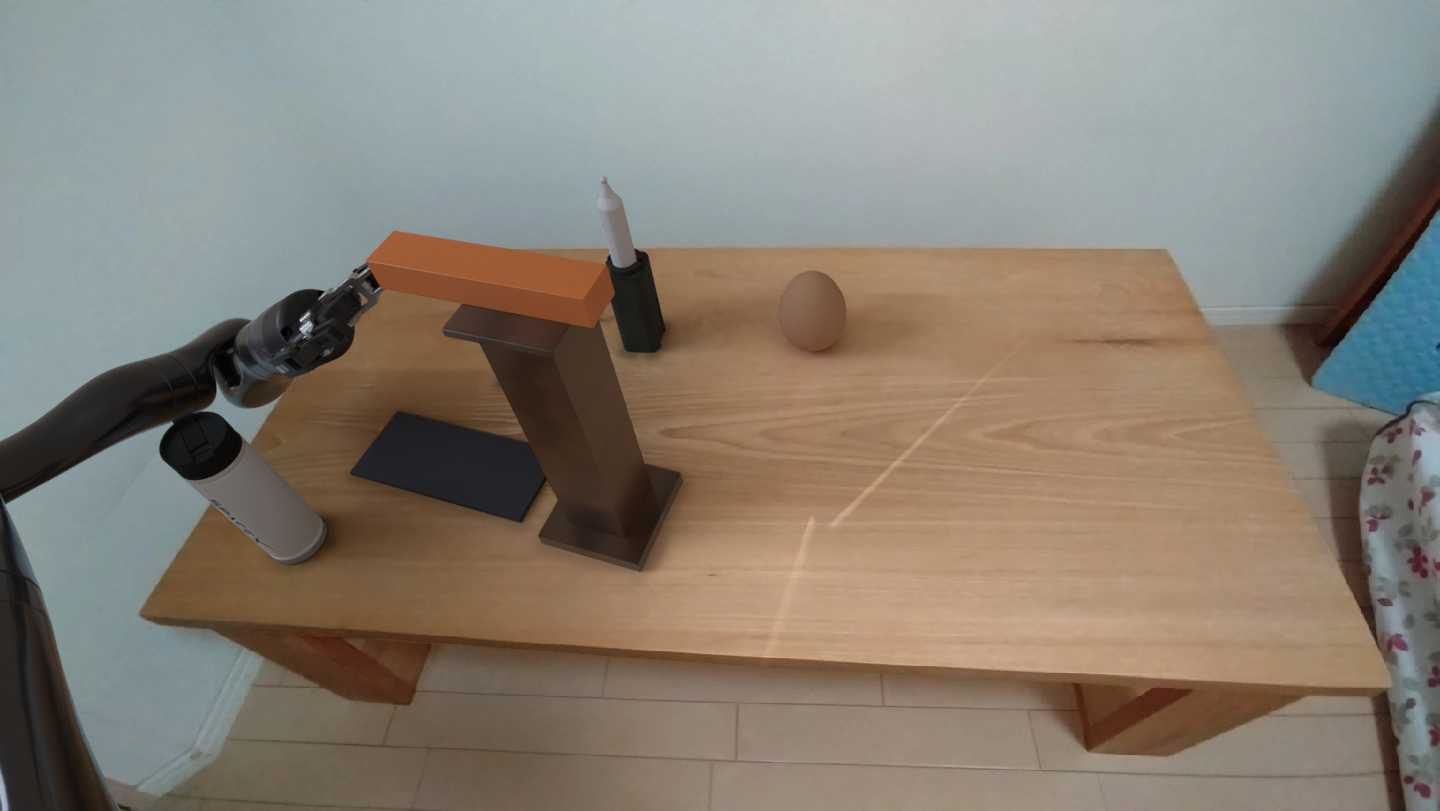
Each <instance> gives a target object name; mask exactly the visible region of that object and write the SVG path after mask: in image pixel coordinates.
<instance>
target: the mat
mask: <svg viewBox="0 0 1440 811" xmlns="http://www.w3.org/2000/svg"><path fill="white" fill-rule="evenodd" d="M349 474H350V475H351V476H354V477H358V478H361V479H365V480H369V481H371V482H375V483H379V484H382V485H386V486H389V487H393V488H396V489H399V490H403V491H406V492H410V493H414V494H418V495H421V496H425V497H427V498H432V499H435V500H439V501H442V502H445V503H449V504H453V505H456V506H458V507H459V506H460V507H462V508H466V509H470V510H473V511H477V512H481V513H483V514H484V513H485V514H488V515H491V516H494V517H498V518H501V519H506V520H509V521H513V522H516V523H519V524H521V523H522V521H523V520H524V518H525V516H526V515H527V513H528V511H529V510H530V508H531V506H533V503H534V501H535V499H536V498H537V496H538V494H539V493H540V491H541V490H542V488H543V486H544V484H545V483H546V481H547V478H546V476H545V474H544V472H543V470H542V468H541V466H540V464H539V462H538V460H537V458H536V456H535V454H534V452H533V450H532V448H531V446H530V444H529V442H528V441H523V440H518V439H514V438H510V437H506V436H503V435H499V434H495V433H490V432H487V431H482V430H478V429H474V428H471V427H465V426H462V425H458V424H454V423H450V422H446V421H443V420H438V419H433V418H429V417H426V416H421V415H418V414H413V413H410V412H405V411H401V410H397V411H395V413H394V415H393V416H392V417H391V418H390V419H389V421H388V422H387V423H386V424H385V426H384V427H383V429H382V430H381V431H380V432H379V434H378V435H377V436H376V437H375V439H374V440H373V441H372V443H371V444H370V445H369V447H368V448H367V449H366V450H365V451H364V453H363V454H362V455H361V457H360V458H359V459H358V461H357V462H356V463H355V464H354V466H353V467H352V468H351V470H349Z"/></svg>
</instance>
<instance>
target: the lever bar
mask: <svg viewBox="0 0 1440 811" xmlns="http://www.w3.org/2000/svg"><path fill="white" fill-rule="evenodd" d="M364 262H365V263H367V265H368V267H369V268H370V270H371V272H372V273H373V275H374V277H375V278H376V280H377V282H378V283H379V285H380V287H381V288H382V289H385V290H386V291H387V290H388V291H392V292H393V291H394V292H398V293H402V294H403V293H404V294H409V295H414V296H419V297H423V298H430V299H435V300H441V301H446V302H451V303H455V304H456V303H457V304H460V305H461V304H466V305H472V306H477V307H482V308H488V309H493V310H498V311H503V312H509V313H514V314H519V315H525V316H530V317H535V318H540V319H546V320H551V321H556V322H562V323H567V324H572V325H578V326H583V327H588V328H594V326H595V324H596V323H597V321H598V320H599V321H600V319H601V317H602V315H603V314H604V312H605V310H606V309H607V307H608V306H609V304H611V299H612V298H613V296H614V295H615V292H614V288H613V285H612V281H611V278H610V274H609V271H608V268H607V265H606V263H599V262H594V261H588V260H583V259H582V260H581V259H576V258H575V259H574V258H570V257H569V258H568V257H562V256H556V255H551V254H544V253H537V252H531V251H525V250H519V249H512V248H505V247H501V246H500V247H499V246H494V245H487V244H480V243H475V242H468V241H463V240H462V241H461V240H455V239H449V238H444V237H437V236H431V235H424V234H418V233H414V232H413V233H412V232H406V231H399V230H393V231H392V232H391V233H389V235H388V236H387V237H386V238H385V239H384V240H383V241H382V242H381V243H380V244H379V245H378V246H377V248H376V249H375V250H374V251H372V252H371V254H370V255H369V256H368V257H367V258H365V261H364Z"/></svg>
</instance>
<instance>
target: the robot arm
mask: <svg viewBox="0 0 1440 811" xmlns="http://www.w3.org/2000/svg"><path fill="white" fill-rule="evenodd" d="M384 291H386V289H382V288H381V287H380V285H379V283H378V282H377V280H376V278H375V277H374V275H373V273H372V272H371V270H370V268H369V267H368V265H367V263H366V262H365V263H363V264H361V265H360V266H358V267H357V268H356V267H355V268H354V269H353V270H352V272H351V273H350V274H349V275H348V276H346V277H345V278H344V279H342V281H341V282H339V283H338V284H337V285H336V286H334V287H330V288H328V289H326V290H322V289H317V288H303V289H299V290H296V291H294V292H292V293H290V294H288V295H287V296H285V297H284V298H282V299H280V300H279V301H277V302H276V303H274V304H272V305H271V306H269V307H267V308H266V309H265V310H263V311H262V312H261V313H260V314H259V315H258V316H257V317H256V318H254V319H253V320H252V319H249V318H246V317H232V318H228V319H225V320H222V321H219V322H217V323H216V324H214V325H212V326H210V327H209V328H208V329H206V330H205V331H203V332H202V333H200V334H199V335H198V336H196V337H195V338H193V339H191V340H190V341H189V342H187V343H185V344H183V345H181V346H180V347H178V348H175V349H173V350H170V351H167V352H164V353H160V354H158V355H154V356H151V357H147V358H146V357H145V358H143V359H140V360H135V361H132V362H131V361H130V362H129V363H125V364H121V365H119V366H116V367H113V368H111V369H107V370H106V371H104V372H102V373H100V374H98V375H96V376H95V377H93V378H92V379H89V380H88V381H87V382H86V383H84V384H82V385H81V386H79V387H78V388H76V390H74V391H73V392H71V393H70V394H69V395H68V396H67V397H65V398H64V399H62V400H61V401H60V402H59V403H57V404H56V405H55V406H53V408H51V409H50V410H49V411H47V412H46V413H45V414H43V415H41V416H40V417H39V418H37V419H36V420H34V421H33V422H32V423H30V424H28V425H27V426H25V427H23V428H22V429H20V430H19V431H17V432H15V433H13V434H11V435H10V436H8V437H6V438H4V439H1V440H0V811H121V809H120V807H119V804H118V802H117V800H116V798H115V796H114V794H113V792H112V789H111V788H110V785H109V783H108V781H107V779H106V776H105V775H104V773H103V770H102V768H101V766H100V765H99V762H98V760H97V758H96V756H95V753H94V751H93V749H92V746H91V744H90V742H89V740H88V737H87V735H86V732H85V730H84V727H83V724H82V722H81V720H80V717H79V714H78V710H77V709H76V705H75V702H74V699H73V695H72V692H71V690H70V686H69V682H68V679H67V676H66V673H65V670H64V667H63V662H62V659H61V656H60V652H59V647H58V643H57V639H56V635H55V631H54V627H53V623H52V620H51V617H50V614H49V611H48V607H47V604H46V601H45V597H44V595H43V592H42V589H41V586H40V583H39V581H38V579H37V576H36V574H35V572H34V568H33V566H32V564H31V561H30V559H29V556H28V553H27V551H26V549H25V546H24V544H23V541H22V539H21V535H20V533H19V531H18V530H17V527H16V525H15V522H14V521H13V518H12V516H11V514H10V511H9V509H8V508H7V506H6V505H8V504H10V503H11V502H13V501H15V500H18V498H21V497H22V496H24V495H25V494H27V493H30V492H31V491H33V490H35V489H37V488H39V487H40V486H42V485H45V484H46V483H48V482H50V481H51V480H53V479H55V478H57V477H59V476H60V475H63V474H65V473H66V472H68V471H70V470H71V469H73V468H75V467H77V466H78V465H81V464H82V463H84V462H86V461H88V460H89V459H91V458H93V457H95V456H97V455H99V454H101V453H103V452H105V451H106V450H109V449H110V448H112V447H114V446H116V445H118V444H120V443H122V442H125V441H127V440H129V439H131V438H134V437H136V436H139V435H142V434H144V433H146V432H149V431H152V430H154V429H157V428H160V427H163V426H166V425H169V424H171V423H173V422H172V420H173V419H174V418H176V417H178V416H180V415H182V414H184V413H185V412H187V411H191V412H192V413H196V412H202V411H205V410H207V409H208V408H210V407H211V406H212V405H213V403H214V402H215V400H216V398H217V393H218V392H217V391H218V389H219V392H220V393H221V395H222V396H223V398H224V399H225V401H226V402H228V404H230V405H231V406H234V407H236V408H239V409H242V410H253V409H257V408H262V407H264V406H267V405H269V404H271V403H273V402H274V401H276V400H278V398H280V397H281V396H282V395H284V394H285V392H286V391H288V389H289V388H290V386H291V385H292V383H293V382H294V379H295V378H296V377H300V376H302V375H306V374H308V373H310V372H312V371H315V369H317V368H319V367H321V366H324V365H326V364H329V363H330V362H331V363H332V362H333V361H336V360H337V359H340V358H341V357H343V356H344V355H345V354H346V353H347V352H348V351H349V349H350V348H351V346H352V345H353V343H354V339H355V335H356V326H355V325H356V324H357V323H359V322H360V320H361V318H362V316H363V315H364V314H366V313H367V312H368V311H369V310H370V309H372V308H373V307H374V306H376V305H377V304H378V302H379V300H380V298H381V294H382V293H383V292H384ZM360 294H361V295H362V296H363V297H364V298H365V299H366V301H365V303H362V296H361V295H360Z"/></svg>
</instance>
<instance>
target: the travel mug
mask: <svg viewBox="0 0 1440 811" xmlns="http://www.w3.org/2000/svg"><path fill="white" fill-rule="evenodd" d="M171 423H172V425H170V426H169V428H168V429H167V430H166V431H165V432H164V433H163V435H162V437H161V439H160V441H159V446H158V452H159V456H160V458H161V459H162V461H163V462H164V463H165V464H167V465H168V466H169V467H170V468H171V469H172V470H174V471H175V472H176V473H177V475H179V476H180V477H181V478H182V479H183V480H184V481H185V482H186V483H187V484H188V485H190V486H191V488H193V489H194V490H195V491H196V492H198V493H199V495H200V496H202V497H203V498H204V499H205V500H206V501H207V502H209V503H210V504H211V505H212V506H213V507H215V508H216V509H217V510H218V511H219V512H220V513H221V514H223V515H224V516H225V517H226V518H227V519H228V520H229V521H230V522H232V523H233V524H234V525H235V526H236V527H237V528H238V529H240V531H242V532H243V533H244V534H245V535H246V536H247V537H248V538H250V539H251V540H252V541H253V542H254V543H255V544H257V545H258V546H259V547H260V548H261V549H262V550H263V551H265V552H266V553H267V554H268V555H269V556H270V557H271V558H272V559H273V560H275V561H276V562H277V563H279V564H282V565H295V564H299V563H302V562H305V561H306V560H308V559H309V558H311V557H312V556H313V555H315V554H316V553H317V552H318V551H319V550H320V549H321V548H322V547H323V545H324V542H325V540H326V537H327V533H328V528H327V524H326V522H325V521H324V520H323V519H322V518H321V517H320V515H318V514H317V513H316V512H315V511H314V509H313V508H312V507H311V506H310V504H308V503H307V502H306V501H305V500H304V499H303V498H302V497H301V496H300V494H298V493H297V492H296V491H295V490H294V488H293V487H291V485H289V483H288V482H287V481H286V480H285V478H283V477H282V476H281V475H280V474H279V473H278V472H277V471H276V470H275V469H274V468H273V467H272V466H271V465H270V464H269V463H268V461H267V460H266V459H264V458H263V456H262V455H261V454H260V453H259V452H258V451H257V450H256V449H255V448H254V447H253V446H252V445H251V444H250V442H248V441H247V440H246V439H245V438H244V437H243V436H242V435H241V433H239V432H238V431H237V430H235V428H234V427H233V426H232V425H231V424H230V423H229V422H228V421H227V420H226V418H224V416H222V415H221V414H220V413H217V412H214V411H209V410H208V411H207V410H206V411H205V410H203V411H201V412H196V413H192V412H191V411H187V412H185V413H184V414H182V415H180V416H178V417H176V418H174V419H173V420H172V422H171Z"/></svg>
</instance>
